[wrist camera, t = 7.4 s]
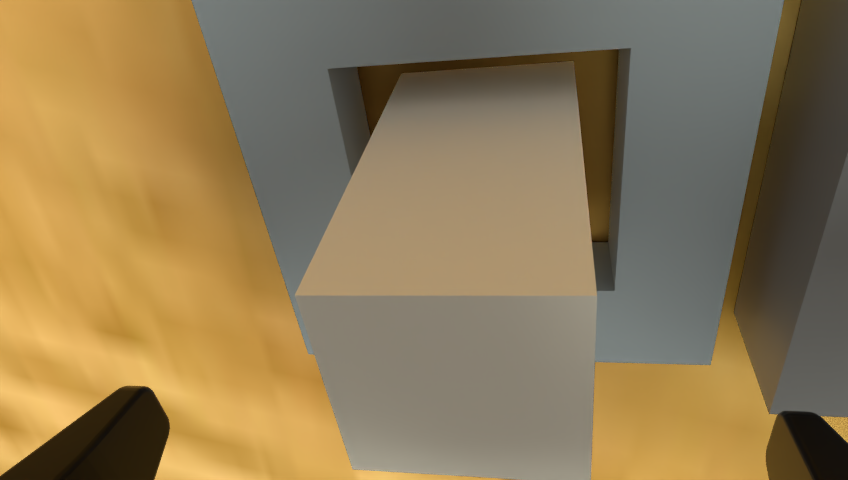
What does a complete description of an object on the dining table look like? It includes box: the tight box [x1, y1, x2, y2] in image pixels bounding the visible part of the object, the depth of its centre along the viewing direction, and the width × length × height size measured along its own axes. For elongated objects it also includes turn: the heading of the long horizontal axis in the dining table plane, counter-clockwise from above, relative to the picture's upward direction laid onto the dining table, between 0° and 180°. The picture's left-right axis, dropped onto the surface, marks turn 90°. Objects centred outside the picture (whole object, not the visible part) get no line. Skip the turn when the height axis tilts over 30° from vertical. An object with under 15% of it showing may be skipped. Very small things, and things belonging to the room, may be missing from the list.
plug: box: [295, 61, 597, 480], centre depth 12 cm, size 4×4×8 cm
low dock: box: [192, 0, 784, 365], centre depth 15 cm, size 11×11×2 cm
